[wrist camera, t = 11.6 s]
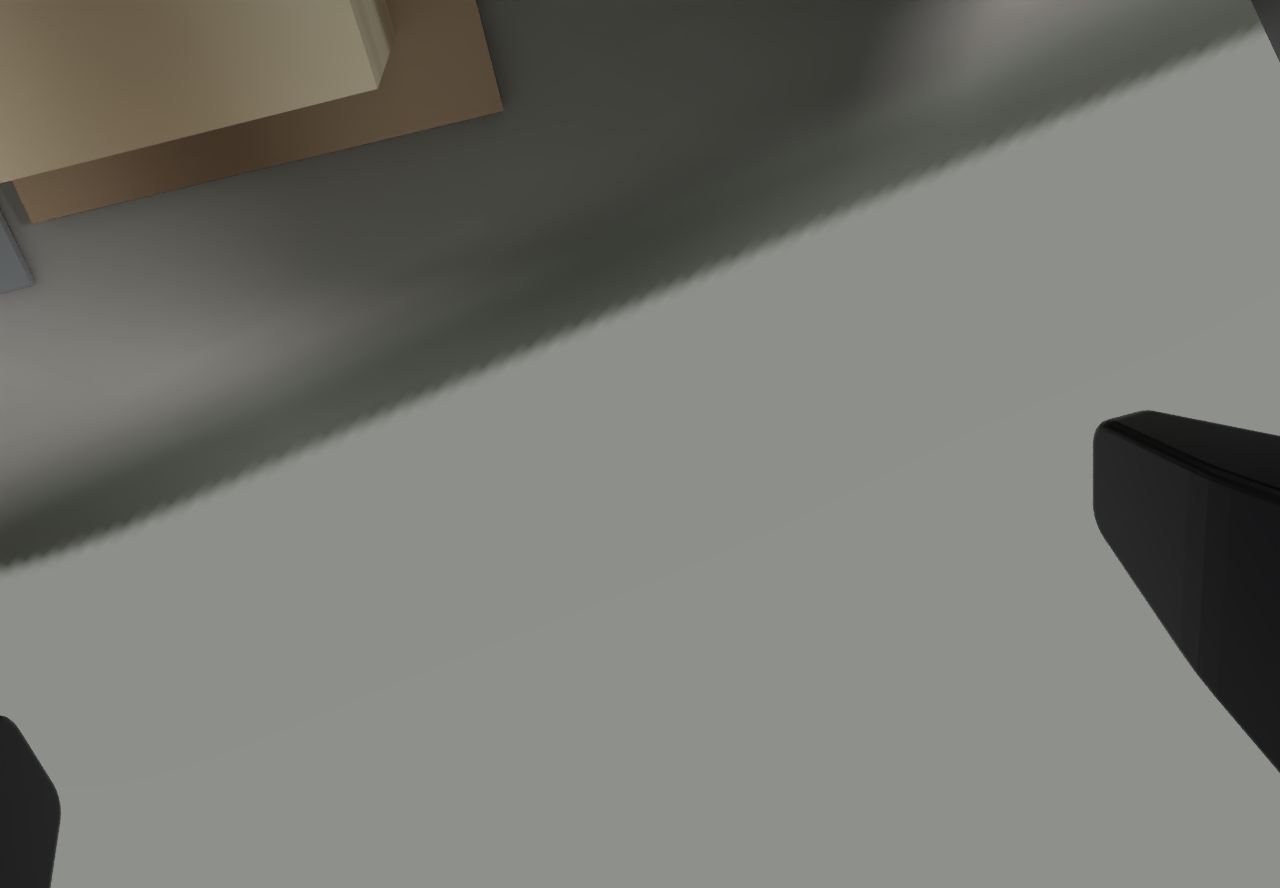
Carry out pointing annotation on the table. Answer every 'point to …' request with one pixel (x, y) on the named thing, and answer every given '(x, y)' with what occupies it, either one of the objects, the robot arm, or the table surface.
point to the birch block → (170, 70)
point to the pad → (301, 119)
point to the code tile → (12, 262)
